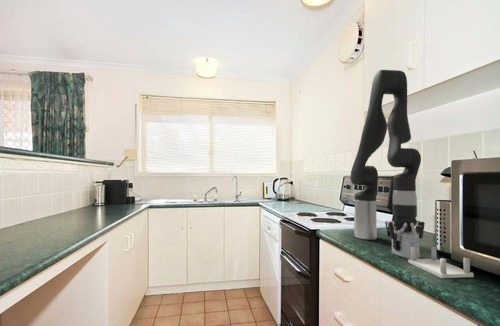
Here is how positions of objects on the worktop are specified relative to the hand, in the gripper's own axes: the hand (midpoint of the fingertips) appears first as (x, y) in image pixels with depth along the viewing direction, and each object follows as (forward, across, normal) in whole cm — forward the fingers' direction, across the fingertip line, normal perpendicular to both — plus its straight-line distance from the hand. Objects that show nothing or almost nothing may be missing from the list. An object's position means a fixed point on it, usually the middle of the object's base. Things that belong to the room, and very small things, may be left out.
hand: (405, 250), depth 92 cm
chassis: (+2, -1, +13) cm, 13 cm away
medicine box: (+2, 0, 0) cm, 2 cm away
